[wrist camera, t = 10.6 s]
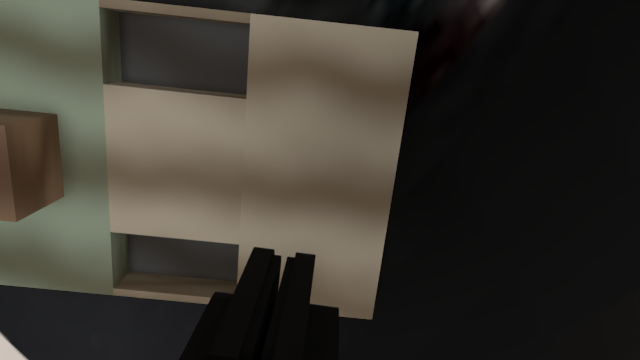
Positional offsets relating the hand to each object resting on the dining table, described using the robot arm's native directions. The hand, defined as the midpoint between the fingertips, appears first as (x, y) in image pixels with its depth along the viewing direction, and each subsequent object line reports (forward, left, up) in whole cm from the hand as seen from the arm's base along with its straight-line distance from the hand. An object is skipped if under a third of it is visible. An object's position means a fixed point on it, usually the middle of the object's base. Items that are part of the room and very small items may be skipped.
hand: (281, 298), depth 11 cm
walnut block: (+1, -17, -14) cm, 22 cm away
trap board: (+1, -8, -16) cm, 18 cm away
